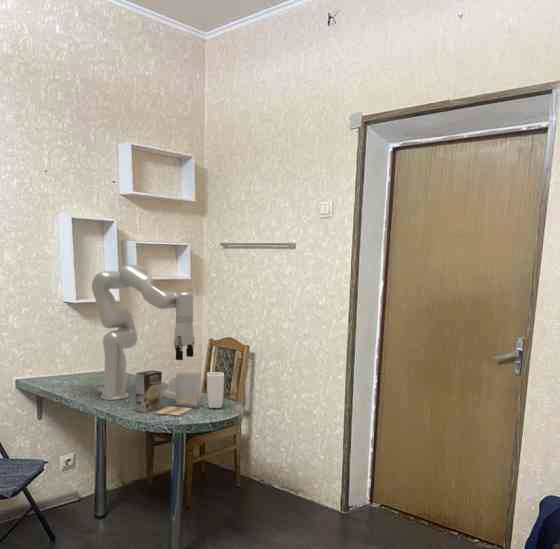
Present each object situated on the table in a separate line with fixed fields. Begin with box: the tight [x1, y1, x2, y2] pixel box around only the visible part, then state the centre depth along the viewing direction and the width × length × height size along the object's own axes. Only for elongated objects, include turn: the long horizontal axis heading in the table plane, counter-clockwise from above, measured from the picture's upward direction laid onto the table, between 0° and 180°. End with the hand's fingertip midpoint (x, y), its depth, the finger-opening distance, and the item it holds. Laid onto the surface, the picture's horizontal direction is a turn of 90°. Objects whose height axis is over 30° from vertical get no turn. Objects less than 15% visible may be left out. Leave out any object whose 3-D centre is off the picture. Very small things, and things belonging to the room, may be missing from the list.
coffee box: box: [134, 370, 163, 413], centre depth 209 cm, size 9×6×16 cm
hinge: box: [162, 377, 176, 401], centre depth 232 cm, size 17×5×10 cm, turn 43°
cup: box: [206, 371, 225, 409], centre depth 214 cm, size 7×7×15 cm
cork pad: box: [153, 405, 192, 417], centre depth 206 cm, size 12×11×1 cm
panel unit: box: [172, 371, 204, 410], centre depth 215 cm, size 12×6×14 cm, turn 75°
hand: (184, 358), depth 216 cm, fingers open, 9 cm apart
